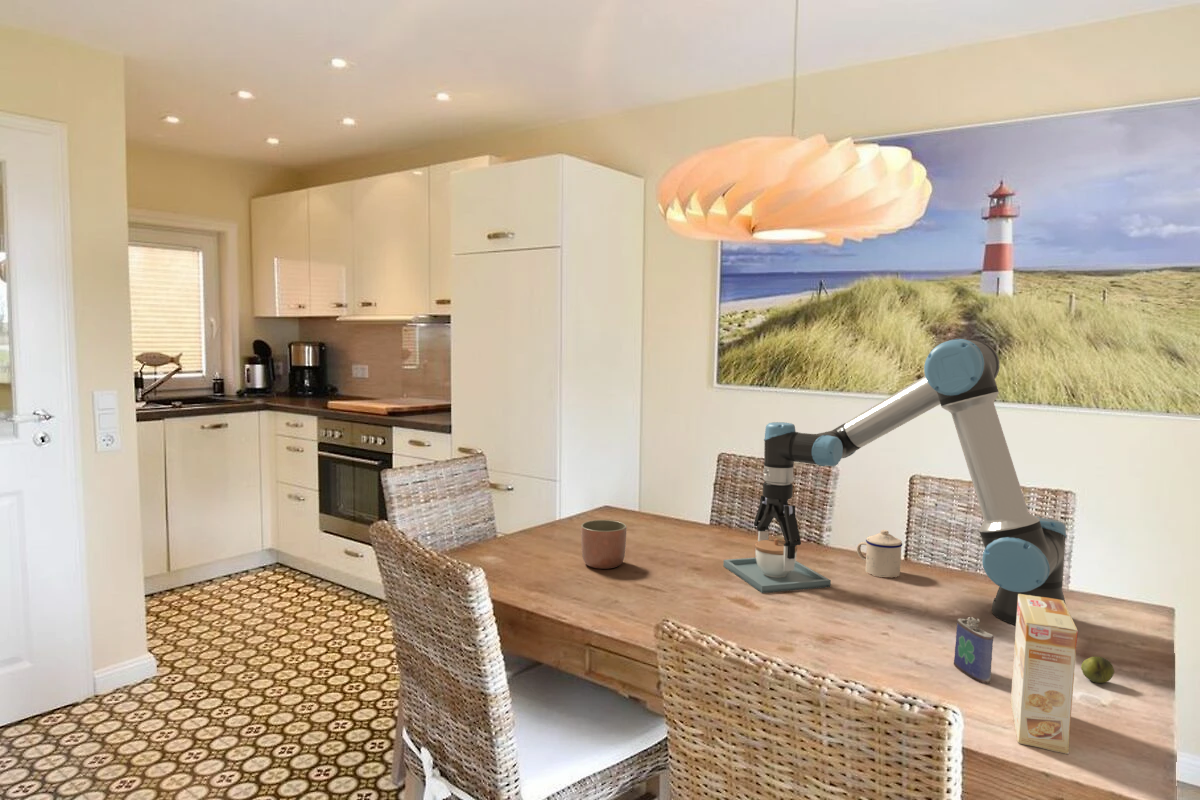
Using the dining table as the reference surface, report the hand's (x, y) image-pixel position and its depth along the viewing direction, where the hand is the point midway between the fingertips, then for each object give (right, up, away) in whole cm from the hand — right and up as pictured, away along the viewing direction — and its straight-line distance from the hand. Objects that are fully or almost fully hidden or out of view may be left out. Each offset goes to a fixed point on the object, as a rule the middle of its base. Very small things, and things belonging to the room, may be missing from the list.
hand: (775, 562), depth 196 cm
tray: (0, -4, 0) cm, 4 cm away
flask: (+24, -9, -55) cm, 61 cm away
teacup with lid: (+29, -4, +5) cm, 29 cm away
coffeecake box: (+25, -11, -74) cm, 79 cm away
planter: (-45, -3, +8) cm, 46 cm away
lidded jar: (0, -3, 0) cm, 3 cm away
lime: (+46, -10, -58) cm, 75 cm away
